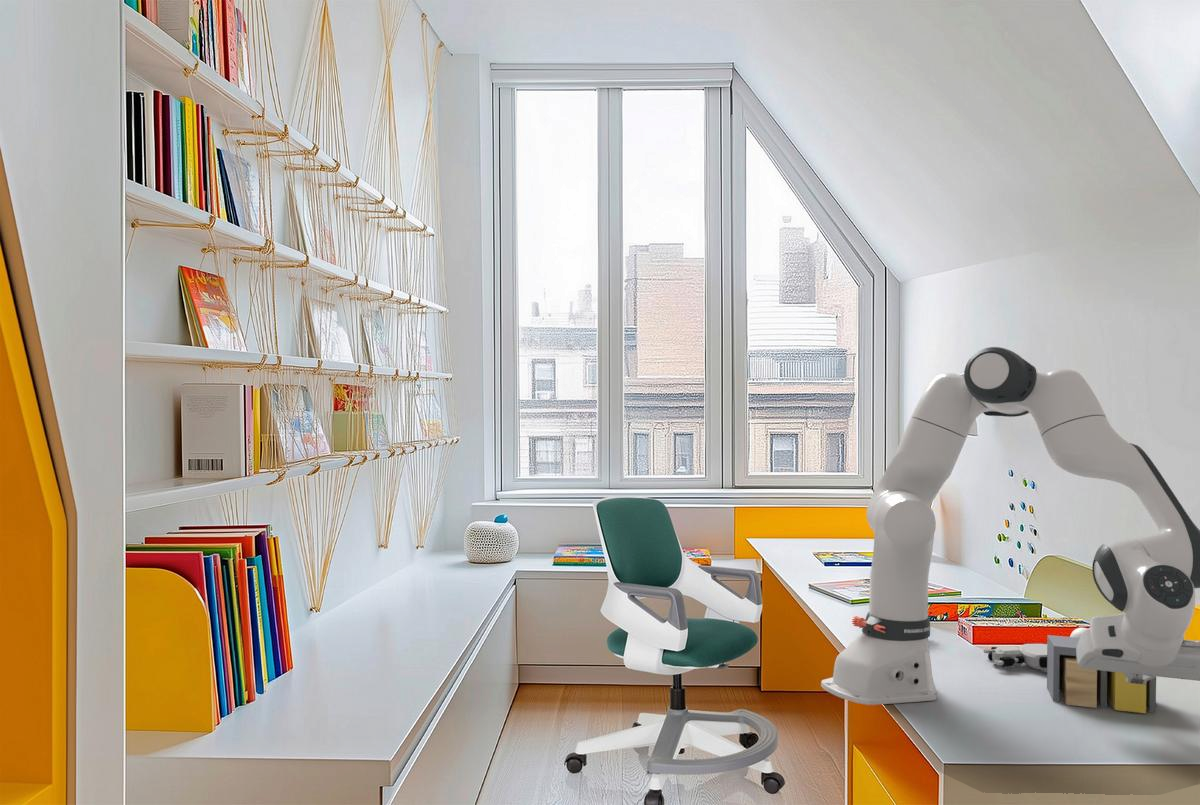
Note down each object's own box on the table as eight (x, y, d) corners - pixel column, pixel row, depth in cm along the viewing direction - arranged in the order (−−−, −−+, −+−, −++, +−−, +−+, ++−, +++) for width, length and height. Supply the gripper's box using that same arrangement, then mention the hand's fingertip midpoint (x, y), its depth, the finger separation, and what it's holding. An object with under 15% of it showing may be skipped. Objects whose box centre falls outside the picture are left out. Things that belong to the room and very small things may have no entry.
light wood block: (1096, 707, 168) (1097, 664, 168) (1066, 704, 169) (1066, 661, 169) (1089, 695, 175) (1089, 653, 175) (1060, 691, 177) (1060, 650, 177)
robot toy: (996, 678, 190) (1073, 677, 188) (994, 656, 190) (1071, 655, 188) (981, 661, 202) (1053, 660, 200) (980, 641, 202) (1052, 640, 200)
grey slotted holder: (1155, 712, 166) (1156, 655, 166) (1053, 701, 172) (1053, 646, 172) (1144, 698, 175) (1145, 643, 175) (1046, 687, 181) (1047, 635, 181)
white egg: (1086, 656, 204) (1086, 631, 204) (1064, 650, 209) (1064, 626, 209) (1109, 653, 207) (1109, 629, 207) (1087, 647, 212) (1087, 623, 212)
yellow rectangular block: (1146, 713, 165) (1146, 669, 165) (1114, 709, 167) (1115, 666, 167) (1136, 700, 173) (1136, 658, 173) (1106, 696, 174) (1107, 655, 174)
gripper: (1218, 628, 151) (1199, 671, 161) (1081, 616, 158) (1070, 658, 167) (1226, 662, 147) (1206, 704, 156) (1085, 648, 154) (1074, 689, 163)
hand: (1135, 680), depth 162 cm, fingers closed
